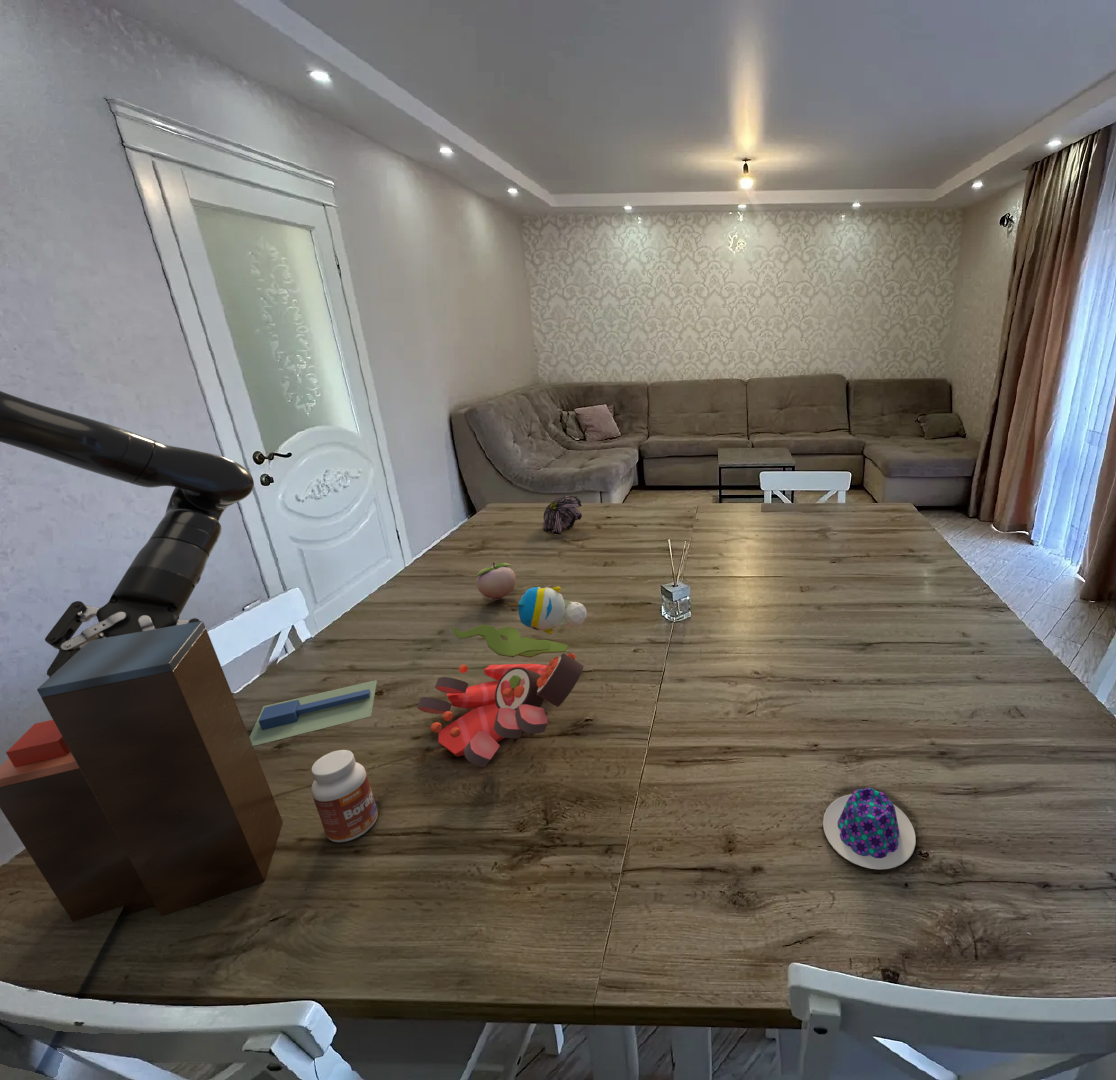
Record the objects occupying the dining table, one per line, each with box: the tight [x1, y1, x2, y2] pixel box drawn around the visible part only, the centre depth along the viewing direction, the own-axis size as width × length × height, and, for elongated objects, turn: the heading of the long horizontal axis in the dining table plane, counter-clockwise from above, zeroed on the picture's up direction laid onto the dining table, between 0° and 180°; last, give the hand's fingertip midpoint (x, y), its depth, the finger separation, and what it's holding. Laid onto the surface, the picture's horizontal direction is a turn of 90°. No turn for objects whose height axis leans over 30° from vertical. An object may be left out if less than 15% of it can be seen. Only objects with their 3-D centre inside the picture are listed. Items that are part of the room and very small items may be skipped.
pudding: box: [822, 787, 917, 870], centre depth 74 cm, size 12×12×5 cm
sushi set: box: [416, 586, 588, 768], centre depth 97 cm, size 29×30×24 cm
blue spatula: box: [259, 689, 371, 730], centre depth 100 cm, size 4×16×2 cm, turn 115°
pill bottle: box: [310, 749, 379, 843], centre depth 76 cm, size 6×6×11 cm
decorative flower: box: [542, 495, 583, 535], centre depth 187 cm, size 14×12×15 cm
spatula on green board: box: [249, 679, 378, 747], centre depth 100 cm, size 18×12×1 cm, turn 115°
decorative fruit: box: [475, 562, 517, 600], centre depth 139 cm, size 9×8×10 cm
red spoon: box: [5, 719, 70, 767], centre depth 66 cm, size 4×16×2 cm, turn 25°
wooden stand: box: [0, 620, 284, 923], centre depth 65 cm, size 18×10×32 cm, turn 115°
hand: (99, 686), depth 73 cm, fingers open, 8 cm apart
